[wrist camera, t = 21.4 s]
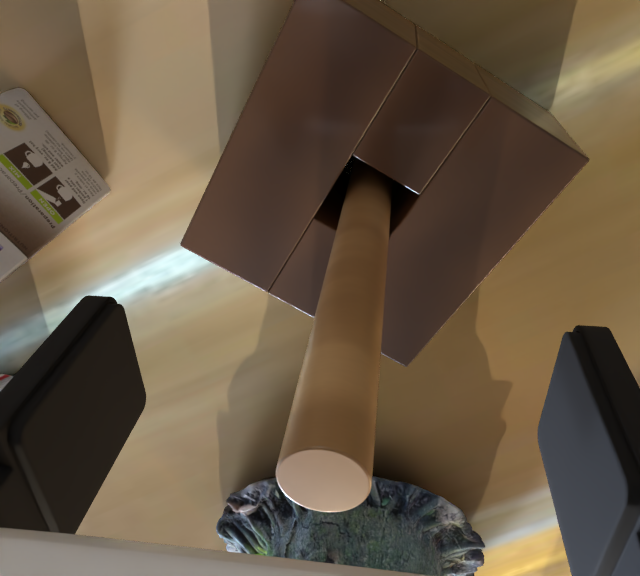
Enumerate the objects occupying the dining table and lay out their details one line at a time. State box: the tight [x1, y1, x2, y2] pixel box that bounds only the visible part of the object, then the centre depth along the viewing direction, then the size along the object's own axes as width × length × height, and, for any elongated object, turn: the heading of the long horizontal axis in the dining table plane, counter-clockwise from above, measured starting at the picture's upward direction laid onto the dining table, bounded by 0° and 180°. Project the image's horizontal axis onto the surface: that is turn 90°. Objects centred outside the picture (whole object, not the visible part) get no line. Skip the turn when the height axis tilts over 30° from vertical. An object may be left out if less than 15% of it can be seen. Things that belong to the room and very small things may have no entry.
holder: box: [181, 0, 589, 367], centre depth 23 cm, size 11×11×6 cm
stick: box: [276, 157, 393, 512], centre depth 18 cm, size 2×2×18 cm
